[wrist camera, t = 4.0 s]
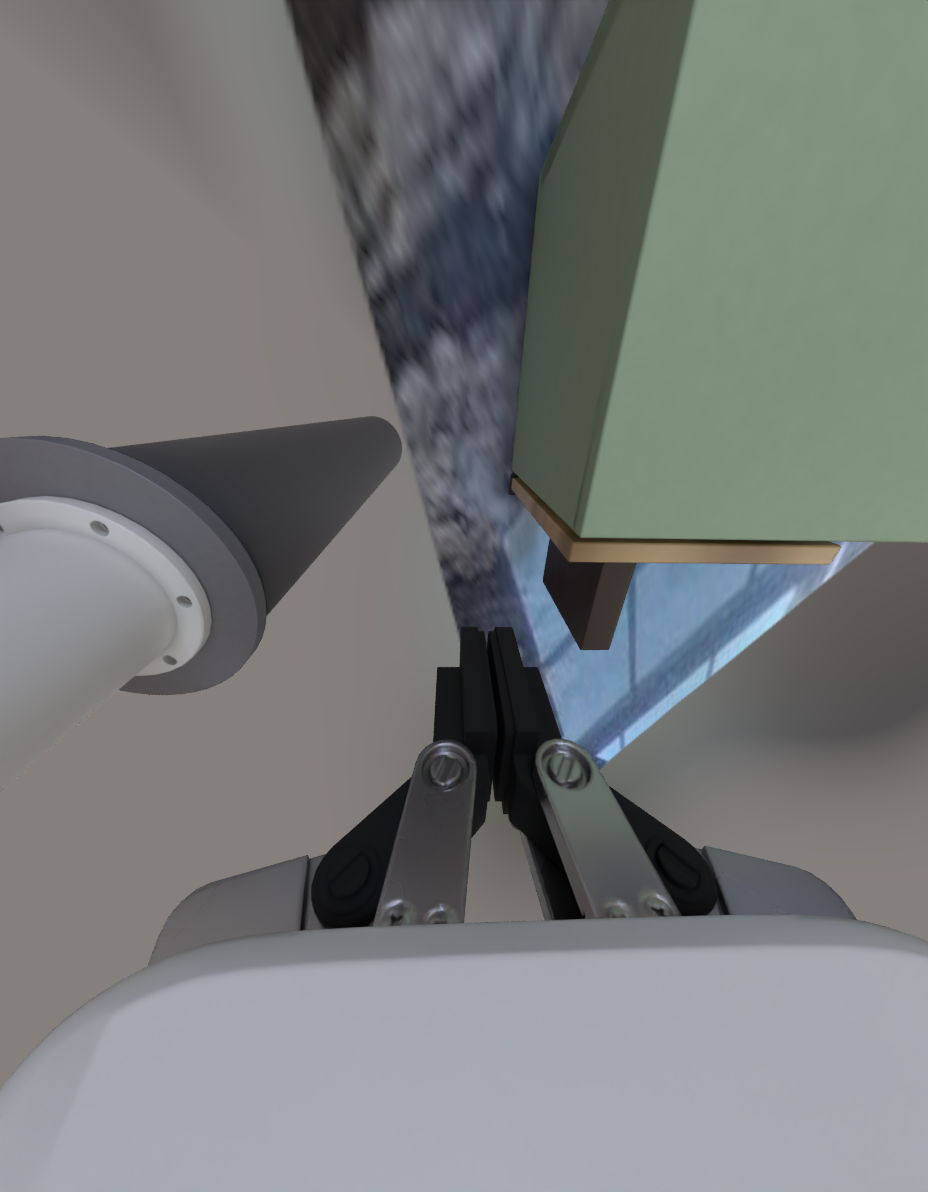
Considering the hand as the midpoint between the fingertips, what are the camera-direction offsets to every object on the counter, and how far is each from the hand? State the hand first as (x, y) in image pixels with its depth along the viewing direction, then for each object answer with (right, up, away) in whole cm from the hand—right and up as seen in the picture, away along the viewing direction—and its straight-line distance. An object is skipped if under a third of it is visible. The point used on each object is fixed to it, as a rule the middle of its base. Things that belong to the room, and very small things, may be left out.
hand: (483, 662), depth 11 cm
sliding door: (+7, +7, +10) cm, 14 cm away
